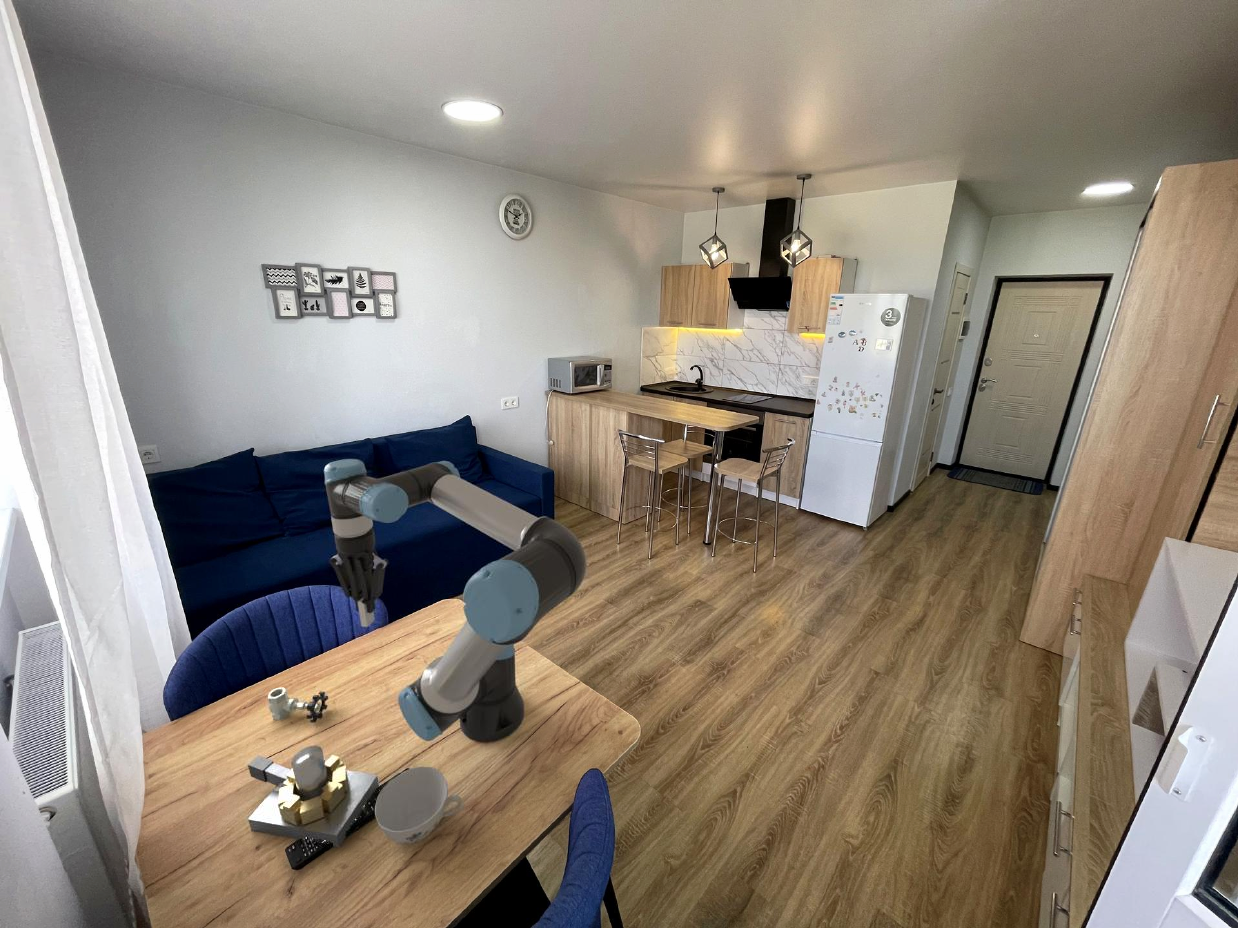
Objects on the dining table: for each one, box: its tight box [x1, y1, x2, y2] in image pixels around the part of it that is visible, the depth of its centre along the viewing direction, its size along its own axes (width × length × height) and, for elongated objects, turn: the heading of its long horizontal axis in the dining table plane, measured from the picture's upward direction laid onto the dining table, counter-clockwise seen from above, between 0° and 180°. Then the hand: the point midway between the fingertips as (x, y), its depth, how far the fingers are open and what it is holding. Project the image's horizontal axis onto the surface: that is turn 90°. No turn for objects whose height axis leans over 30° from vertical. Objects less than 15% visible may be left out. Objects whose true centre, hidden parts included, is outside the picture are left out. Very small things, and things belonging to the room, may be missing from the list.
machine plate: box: [247, 745, 380, 848], centre depth 93 cm, size 18×12×13 cm, turn 82°
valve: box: [267, 687, 329, 724], centre depth 115 cm, size 7×7×12 cm
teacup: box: [374, 765, 463, 845], centre depth 91 cm, size 15×12×8 cm
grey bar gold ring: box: [247, 755, 348, 825], centre depth 95 cm, size 11×21×4 cm, turn 73°
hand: (368, 622), depth 112 cm, fingers closed
